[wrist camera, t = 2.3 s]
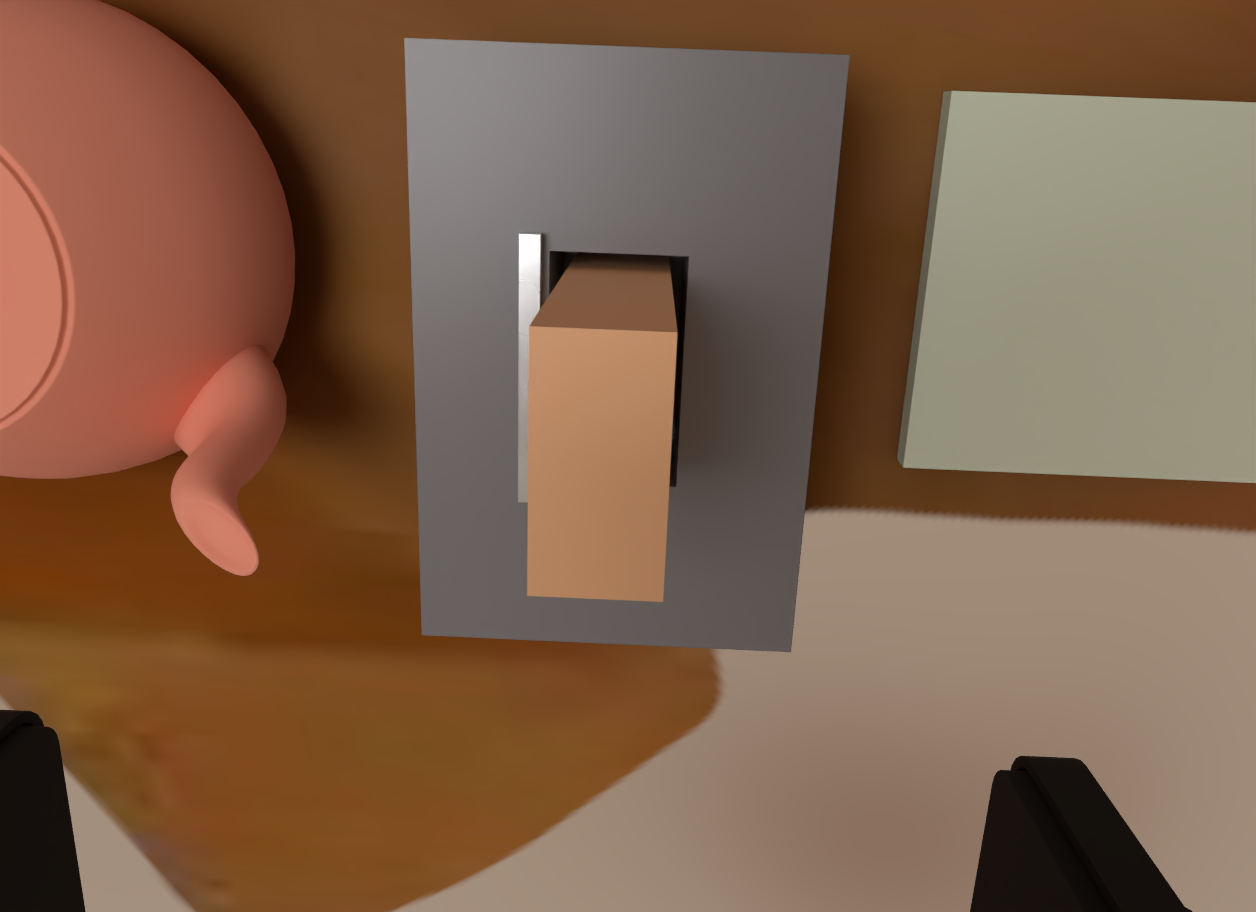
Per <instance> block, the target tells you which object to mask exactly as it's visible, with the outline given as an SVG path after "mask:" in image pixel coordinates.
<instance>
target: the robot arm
mask: <svg viewBox="0 0 1256 912" xmlns="http://www.w3.org/2000/svg"><path fill="white" fill-rule="evenodd" d="M0 912H85V907H84V900H83V893H82V887H81V880H80V874H79V867H78V861H77V855H76V848H75V842H74V835H73V828H72V822H71V816H70V809H69V803H68V796H67V790H66V783H65V777H64V771H63V764H62V758H61V751H60V745H59V740H58V736H57V734H56V732H55V731H54V730H53V729H52V728H49V727H44V725H43V721H42V720H41V718H40V717H39V716H38V714H36V713H33V712H31V711H15V710H0ZM970 912H1192V911H1191V910H1189V909H1187V908H1185V907H1184V906H1183V904H1182V902H1181V901H1180V900H1179V898H1178V897H1177V895H1176V894H1175V892H1174V891H1173V890H1172V888H1171V887H1170V885H1169V884H1168V882H1167V881H1166V880H1165V878H1164V877H1163V875H1162V874H1161V872H1160V871H1159V869H1158V868H1157V867H1156V865H1155V864H1154V862H1153V861H1152V860H1151V858H1150V857H1149V855H1148V854H1147V852H1146V851H1145V849H1144V848H1143V847H1142V845H1141V844H1140V842H1139V841H1138V839H1137V838H1136V837H1135V835H1134V834H1133V832H1132V831H1131V829H1130V828H1129V827H1128V825H1127V824H1126V822H1125V821H1124V819H1123V818H1122V817H1121V815H1120V814H1119V812H1118V811H1117V810H1116V808H1115V807H1114V805H1113V804H1112V802H1111V801H1110V800H1109V798H1108V796H1107V795H1106V794H1105V792H1104V791H1103V789H1102V788H1101V787H1100V785H1099V784H1098V782H1097V781H1096V779H1095V778H1094V777H1093V775H1092V774H1091V772H1090V771H1089V769H1088V768H1087V766H1086V765H1085V764H1084V763H1083V762H1082V761H1081V760H1078V759H1075V758H1057V757H1035V756H1019V757H1018V758H1016V759H1015V761H1014V763H1013V764H1012V767H1011V770H1010V771H1009V770H1000V771H998V772H997V773H996V775H995V776H994V780H993V783H992V789H991V795H990V800H989V806H988V812H987V817H986V823H985V829H984V835H983V840H982V847H981V852H980V858H979V864H978V869H977V875H976V881H975V886H974V893H973V898H972V904H971V909H970Z"/></svg>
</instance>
